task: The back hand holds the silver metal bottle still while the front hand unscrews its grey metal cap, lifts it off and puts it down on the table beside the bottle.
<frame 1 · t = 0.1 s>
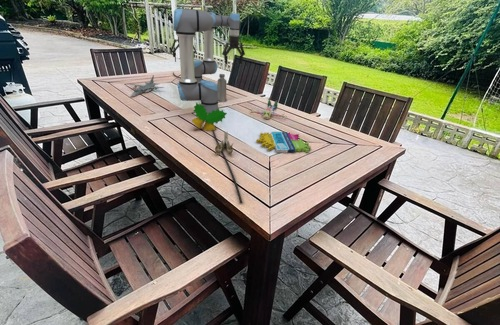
front hand: (184, 61, 211), 28 cm above the table, tool pointing down, fingers open, 13 cm apart
back hand: (233, 64, 217), 28 cm above the table, tool pointing down, fingers open, 13 cm apart
sign: (281, 143, 152), on the table
bottle: (221, 100, 220), on the table
airplane: (145, 91, 229), on the table
toy: (269, 113, 198), on the table
ornament: (209, 128, 165), on the table
jawbone: (224, 151, 138), on the table
cap: (222, 74, 209), point 21 cm above the table, screwed on, not yet turned
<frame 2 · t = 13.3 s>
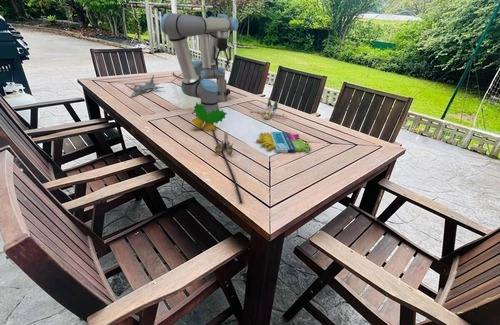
front hand: (222, 69, 207), 25 cm above the table, tool pointing down, fingers open, 7 cm apart
back hand: (222, 94, 212), 6 cm above the table, tool horizontal, fingers closed on bottle, 7 cm apart
bottle: (221, 100, 220), on the table, touching back hand
everything else where it was.
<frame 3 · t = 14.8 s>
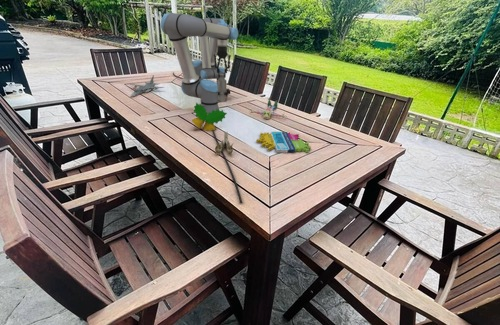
front hand: (222, 77, 210), 19 cm above the table, tool pointing down, fingers closed on cap, 4 cm apart
back hand: (222, 94, 212), 6 cm above the table, tool horizontal, fingers closed on bottle, 7 cm apart
bottle: (221, 100, 220), on the table, touching back hand
cap: (222, 74, 209), point 21 cm above the table, screwed on, not yet turned, touching front hand
everything else where it was.
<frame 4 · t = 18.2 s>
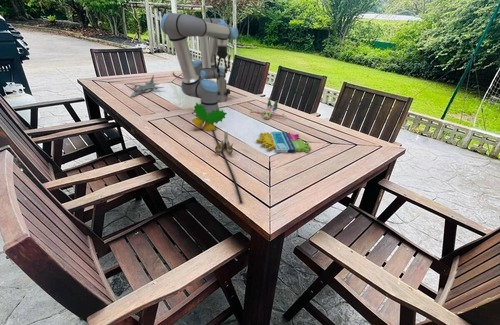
front hand: (222, 77, 210), 19 cm above the table, tool pointing down, fingers closed on cap, 4 cm apart
back hand: (222, 94, 212), 6 cm above the table, tool horizontal, fingers closed on bottle, 7 cm apart
bottle: (221, 100, 220), on the table, touching back hand
cap: (222, 74, 209), point 21 cm above the table, turned 102° so far, risen 0.1 cm, still on its thread, touching front hand
everything else where it was.
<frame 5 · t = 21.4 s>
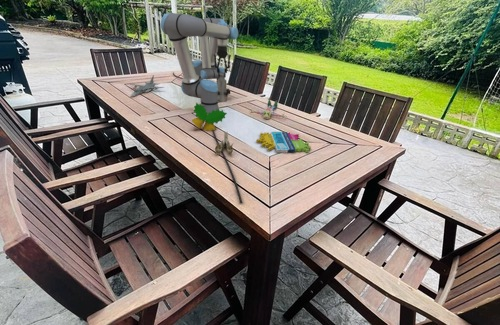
front hand: (222, 76, 210), 19 cm above the table, tool pointing down, fingers closed on cap, 4 cm apart
back hand: (222, 94, 212), 6 cm above the table, tool horizontal, fingers closed on bottle, 7 cm apart
bottle: (221, 100, 220), on the table, touching back hand
cap: (222, 74, 209), point 21 cm above the table, turned 205° so far, risen 0.2 cm, still on its thread, touching front hand
everything else where it was.
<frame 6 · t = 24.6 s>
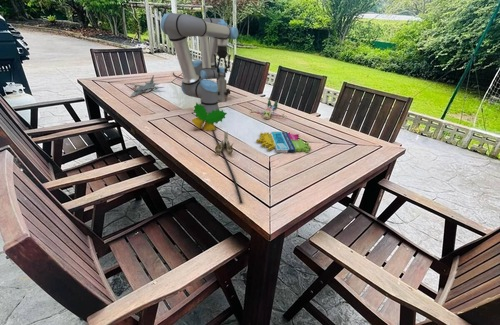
front hand: (222, 76, 210), 20 cm above the table, tool pointing down, fingers closed on cap, 4 cm apart
back hand: (222, 94, 212), 6 cm above the table, tool horizontal, fingers closed on bottle, 7 cm apart
bottle: (221, 100, 220), on the table, touching back hand
cap: (222, 74, 209), point 21 cm above the table, turned 307° so far, risen 0.3 cm, still on its thread, touching front hand
everything else where it was.
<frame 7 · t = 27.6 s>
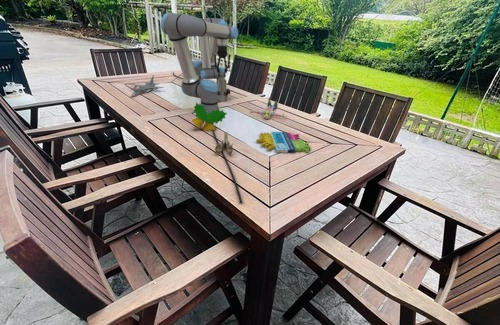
front hand: (222, 76, 210), 20 cm above the table, tool pointing down, fingers closed on cap, 4 cm apart
back hand: (222, 94, 212), 6 cm above the table, tool horizontal, fingers closed on bottle, 7 cm apart
bottle: (221, 100, 220), on the table, touching back hand
cap: (222, 74, 209), point 21 cm above the table, turned 410° so far, risen 0.3 cm, still on its thread, touching front hand
everything else where it was.
when the front hand's fingers open (1 cm above the table, at t = 35.8 s): cap stays where it is, point 2 cm above the table.
when the back hand's fingers open (6 cm above the table, at t = 37.0 s): bottle stays where it is, on the table.
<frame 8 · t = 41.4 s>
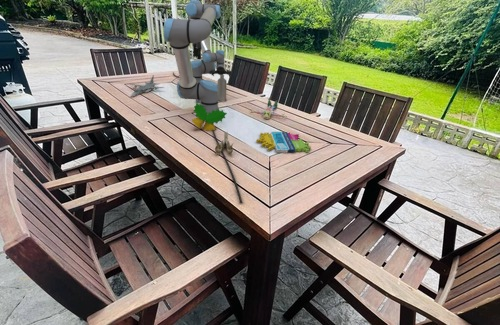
front hand: (197, 57, 195), 34 cm above the table, tool pointing down, fingers open, 13 cm apart
back hand: (221, 74, 219), 19 cm above the table, tool horizontal, fingers open, 13 cm apart
bottle: (221, 100, 220), on the table
cap: (198, 100, 211), point 2 cm above the table, off its thread
everything else where it was.
at the end: cap came off its thread; cap point 1.8 cm above the table; the front hand is holding nothing; the back hand is holding nothing; bottle tilted 0°; bottle moved 0.0 cm from its start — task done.
